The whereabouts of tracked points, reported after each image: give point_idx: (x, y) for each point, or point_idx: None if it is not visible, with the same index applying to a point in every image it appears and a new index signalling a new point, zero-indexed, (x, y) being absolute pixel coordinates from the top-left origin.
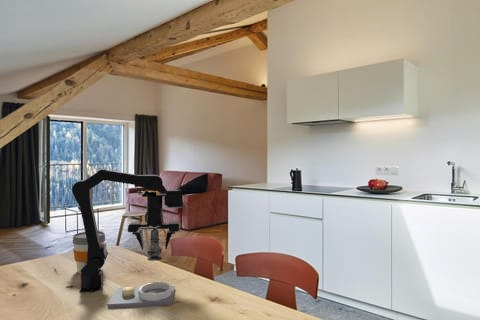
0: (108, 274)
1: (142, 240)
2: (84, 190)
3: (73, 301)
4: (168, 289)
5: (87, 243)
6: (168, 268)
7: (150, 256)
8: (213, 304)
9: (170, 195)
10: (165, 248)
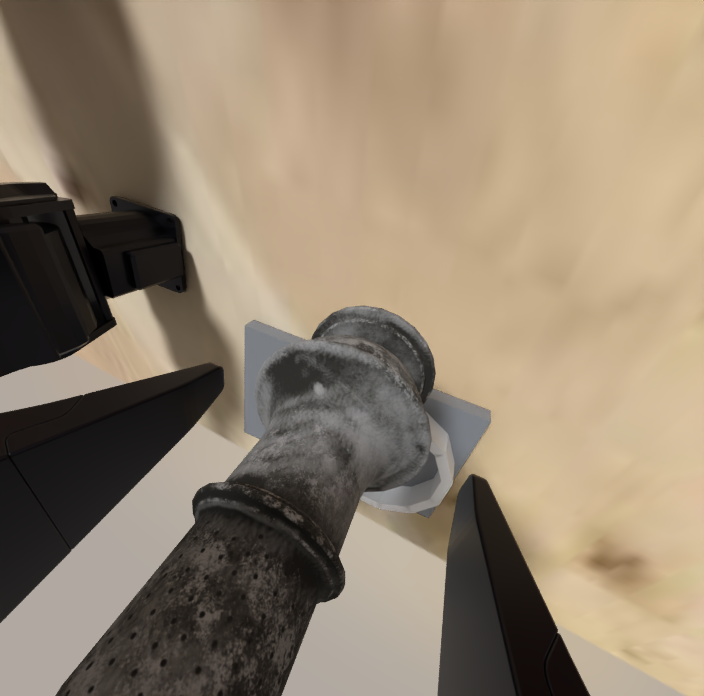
0: (148, 20)
1: (119, 461)
2: None
3: (151, 338)
4: (427, 501)
5: None
6: None
7: (331, 335)
8: (575, 579)
9: None
10: (456, 504)
